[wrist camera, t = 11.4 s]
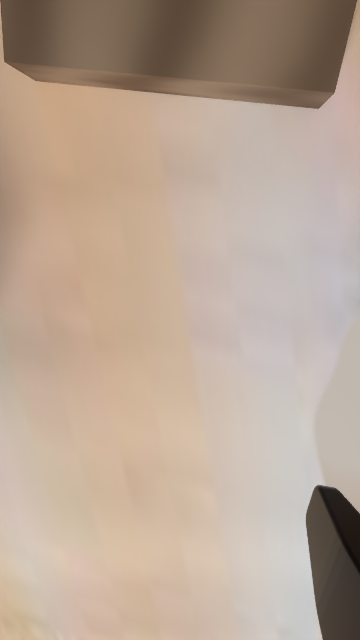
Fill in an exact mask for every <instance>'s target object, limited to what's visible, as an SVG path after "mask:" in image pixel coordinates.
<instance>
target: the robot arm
mask: <svg viewBox="0 0 360 640" xmlns="http://www.w3.org/2000/svg"><path fill="white" fill-rule="evenodd" d="M306 528H307V536H308V544H309V553H310V561H311V569H312V578H313V586H314V594H315V602H316V608H317V614H318V619H319V624H320V629H321V633H322V638H323V640H360V513H359V512H358V511H357V510H356V509H355V508H354V507H353V506H352V504H350V502H349V501H348V500H347V499H346V498H345V497H344V496H343V494H342V493H341V492H340V491H339V490H337V489H336V488H333V487H328V486H322V485H317V486H316V487H315V488H314V490H313V493H312V497H311V500H310V503H309V506H308V509H307V513H306Z"/></svg>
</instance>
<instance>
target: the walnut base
mask: <svg viewBox="0 0 360 640" xmlns="http://www.w3.org/2000/svg"><path fill="white" fill-rule="evenodd" d="M0 2H1V18H2V33H3V48H4V62H6V63H7V64H9V65H11V66H12V67H14V68H15V69H17V70H19V71H20V72H22V73H24V74H25V75H27V76H29V77H30V78H32V79H34V80H35V81H43V82H53V83H63V84H73V85H83V86H94V87H104V88H114V89H124V90H134V91H144V92H154V93H165V94H175V95H185V96H195V97H205V98H215V99H225V100H236V101H246V102H256V103H266V104H276V105H286V106H296V107H307V108H317V109H319V108H320V107H321V106H322V105H323V104H324V103H325V102H326V101H327V100H328V99H329V98H330V97H331V96H332V95H333V94H334V93H335V89H336V85H337V81H338V77H339V73H340V68H341V64H342V60H343V56H344V52H345V48H346V44H347V40H348V36H349V31H350V27H351V23H352V19H353V15H354V11H355V7H356V3H357V0H0Z"/></svg>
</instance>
